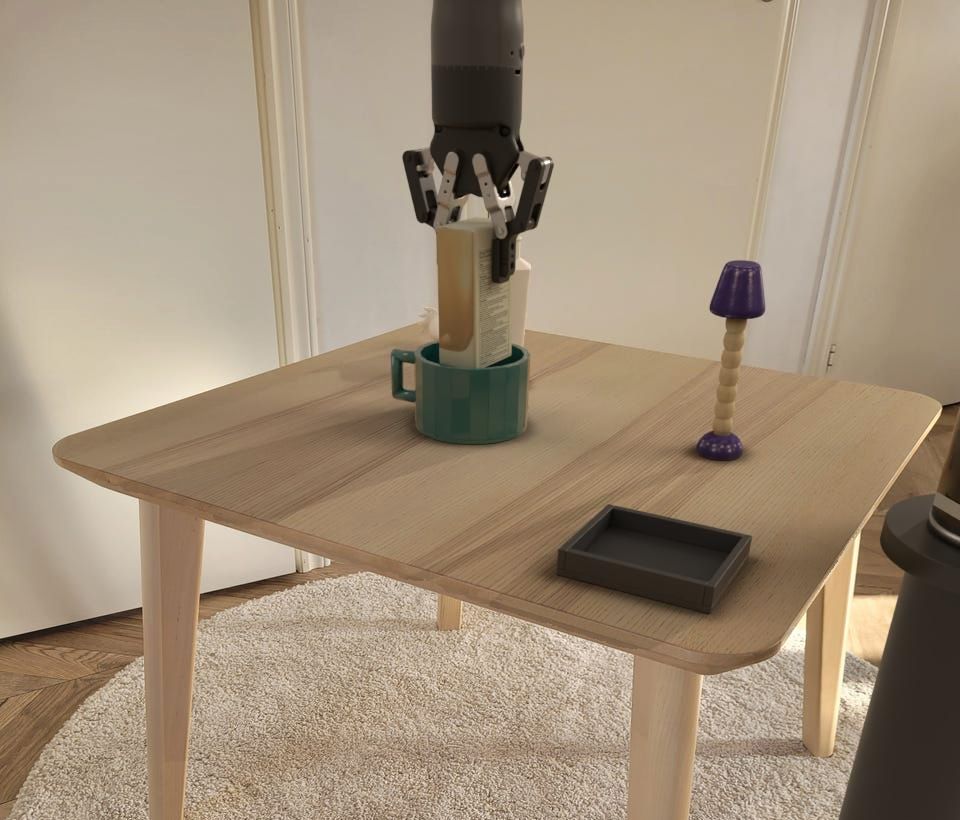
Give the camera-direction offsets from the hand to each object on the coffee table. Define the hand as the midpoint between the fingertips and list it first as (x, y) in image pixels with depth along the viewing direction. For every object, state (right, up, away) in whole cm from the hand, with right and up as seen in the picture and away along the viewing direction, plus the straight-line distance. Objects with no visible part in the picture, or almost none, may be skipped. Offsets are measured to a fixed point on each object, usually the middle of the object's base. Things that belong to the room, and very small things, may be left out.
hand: (475, 277), depth 90 cm
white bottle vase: (+4, -5, +19) cm, 20 cm away
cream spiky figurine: (-4, +1, +28) cm, 29 cm away
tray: (+13, -28, -18) cm, 36 cm away
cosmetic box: (0, -7, +4) cm, 8 cm away
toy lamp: (+22, -16, +2) cm, 27 cm away
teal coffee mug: (-2, -11, +8) cm, 14 cm away
